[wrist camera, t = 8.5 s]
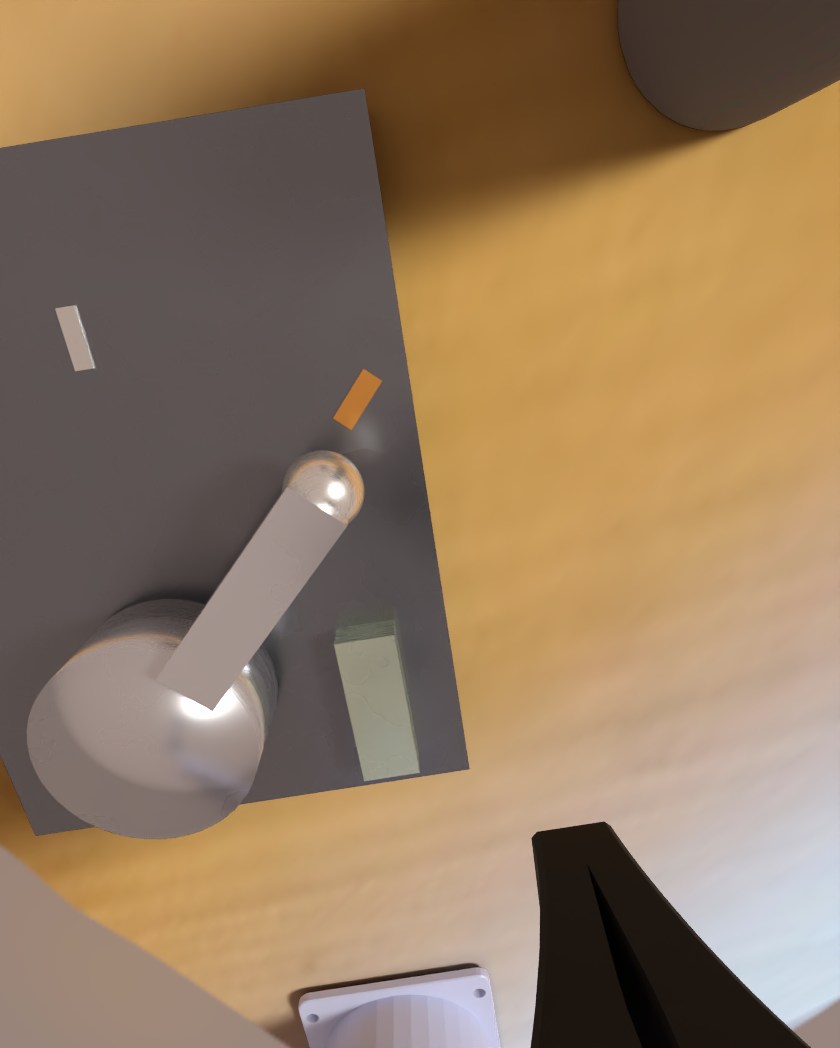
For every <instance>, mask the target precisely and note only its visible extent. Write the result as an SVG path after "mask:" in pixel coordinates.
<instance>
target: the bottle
mask: <svg viewBox="0 0 840 1048" xmlns="http://www.w3.org/2000/svg"><path fill="white" fill-rule="evenodd" d="M618 32H619V38H620V44H621V48H622V51H623V55H624V58H625V61H626V64H627V67H628V70H629V72H630V74H631V76H632V79H633V81H634V82H635V84H636V86H637V87H638V89H639V90H640V92H641V93H642V95H643V96H644V97H645V98H646V99H647V100H648V101H649V102H650V103H651V104H652V105H653V106H654V107H655V108H656V109H657V110H658V111H659V112H660V113H661V114H663V115H665V116H666V117H668V118H670V119H672V120H673V121H675V122H677V123H678V124H681V125H684V126H687V127H691V128H695V129H698V130H715V131H722V130H728V129H735V128H740V127H743V126H746V125H748V124H751V123H754V122H756V121H759V120H761V119H764V118H766V117H768V116H770V115H772V114H774V113H776V112H778V111H780V110H782V109H784V108H786V107H788V106H790V105H792V104H794V103H796V102H798V101H800V100H802V99H804V98H806V97H808V96H810V95H812V94H814V93H816V92H818V91H820V90H822V89H823V88H825V87H827V86H829V85H831V84H833V83H835V82H837V81H839V80H840V0H618Z"/></svg>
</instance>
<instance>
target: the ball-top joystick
mask: <svg viewBox="0 0 840 1048" xmlns="http://www.w3.org/2000/svg"><path fill="white" fill-rule="evenodd" d="M364 493H365V489H364V482H363V479H362V476H361V474H360V472H359V470H358V469H357V467H356V466H355V465H354V464H353V463H352V462H351V461H350V460H349V459H348V458H346V457H345V456H343V455H341V454H339V453H336V452H333V451H327V450H320V451H313V452H310V453H307V454H305V455H303V456H301V457H300V458H298V459H297V460H296V461H295V462H294V463H293V464H292V465H291V466H290V467H289V469H288V471H287V472H286V474H285V477H284V480H283V484H282V493H281V494H280V496H279V497H278V499H277V500H276V502H275V503H274V505H273V506H272V507H271V509H270V510H269V512H268V513H267V515H266V516H265V518H264V519H263V521H262V522H261V524H260V525H259V526H258V528H257V529H256V531H255V532H254V534H253V535H252V537H251V538H250V540H249V541H248V543H247V544H246V546H245V547H244V548H243V550H242V551H241V553H240V554H239V556H238V557H237V559H236V560H235V562H234V563H233V565H232V566H231V567H230V569H229V570H228V572H227V573H226V575H225V576H224V578H223V579H222V581H221V582H220V584H219V585H218V587H217V588H216V589H215V591H214V592H213V594H212V595H211V597H210V598H209V600H208V601H207V603H206V604H203V603H199V602H195V601H189V600H182V599H160V600H151V601H147V602H142V603H139V604H136V605H133V606H130V607H128V608H126V609H124V610H122V611H120V612H118V613H116V614H115V615H114V616H112V617H111V618H109V619H108V620H107V621H106V622H105V623H104V624H103V625H102V626H101V627H100V628H99V629H98V630H97V631H96V632H95V633H94V634H93V635H92V636H91V637H90V638H89V639H88V640H87V641H86V642H85V643H84V644H83V646H82V647H81V648H80V649H79V650H78V651H77V652H76V653H75V654H74V655H73V656H72V657H71V658H70V659H69V660H68V661H67V663H66V664H65V665H64V666H63V667H62V668H61V669H60V670H59V671H58V672H57V673H56V674H55V675H54V676H53V677H52V679H51V680H50V681H49V682H48V683H47V684H46V685H45V686H44V688H43V689H42V690H41V692H40V693H39V694H38V696H37V698H36V700H35V702H34V704H33V706H32V709H31V712H30V715H29V718H28V725H27V745H28V751H29V756H30V759H31V761H32V764H33V767H34V769H35V771H36V773H37V775H38V777H39V779H40V780H41V782H42V783H43V785H44V786H45V788H46V789H47V790H48V792H49V793H50V794H51V795H52V796H53V797H54V798H55V799H56V800H57V801H58V802H59V803H60V804H61V805H62V806H63V807H65V808H66V809H67V810H68V811H70V812H71V813H73V814H74V815H75V816H77V817H78V818H80V819H82V820H84V821H85V822H87V823H89V824H91V825H93V826H95V827H98V828H100V829H103V830H105V831H108V832H111V833H115V834H118V835H122V836H127V837H132V838H142V839H167V838H176V837H181V836H186V835H190V834H193V833H196V832H199V831H202V830H204V829H206V828H208V827H210V826H213V825H214V824H216V823H218V822H219V821H221V820H222V819H224V818H225V817H226V816H228V815H229V814H230V813H231V812H232V811H234V810H235V809H236V807H237V806H238V805H239V804H240V803H241V802H242V801H243V799H244V798H245V796H246V795H247V793H248V792H249V790H250V788H251V786H252V783H253V781H254V778H255V775H256V772H257V768H258V765H259V762H260V758H261V755H262V752H263V748H264V745H265V742H266V738H267V735H268V732H269V728H270V725H271V721H272V718H273V715H274V711H275V708H276V704H277V696H278V684H277V677H276V672H275V669H274V666H273V663H272V660H271V658H270V656H269V654H268V653H267V651H266V649H265V648H264V646H263V645H262V643H263V642H264V640H265V639H266V637H267V636H268V635H269V633H270V632H271V631H272V629H273V628H274V626H275V625H276V624H277V622H278V621H279V619H280V618H281V617H282V615H283V614H284V613H285V611H286V610H287V608H288V607H289V606H290V604H291V603H292V602H293V600H294V599H295V597H296V596H297V595H298V593H299V592H300V590H301V589H302V588H303V586H304V585H305V584H306V582H307V581H308V579H309V578H310V577H311V575H312V574H313V573H314V571H315V570H316V568H317V567H318V566H319V564H320V563H321V562H322V560H323V559H324V557H325V556H326V555H327V553H328V552H329V550H330V549H331V548H332V546H333V545H334V544H335V542H336V541H337V539H338V538H339V537H340V535H341V534H342V533H343V531H344V530H345V528H346V527H347V525H348V524H349V523H350V522H351V521H352V520H353V519H354V518H355V517H356V516H357V514H358V513H359V511H360V509H361V507H362V504H363V501H364Z"/></svg>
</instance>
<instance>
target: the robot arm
mask: <svg viewBox="0 0 840 1048" xmlns="http://www.w3.org/2000/svg"><path fill="white" fill-rule="evenodd" d="M532 846H533V854H534V862H535V871H536V879H537V887H538V895H539V904H540V951H539V967H538V980H537V993H536V1006H535V1015H534V1024H533V1033H532V1041H531V1048H811V1047H810V1046H808V1045H807V1044H806V1043H805V1042H804V1041H803V1040H802V1039H801V1038H800V1037H798V1036H797V1035H796V1034H795V1033H794V1032H793V1031H792V1030H791V1029H790V1028H789V1027H788V1026H787V1025H786V1024H785V1023H784V1022H783V1021H781V1020H780V1019H779V1018H778V1017H777V1016H776V1015H775V1014H774V1013H773V1012H772V1011H771V1010H770V1009H769V1008H768V1007H767V1006H766V1005H765V1004H764V1003H763V1002H762V1001H761V1000H760V999H759V998H757V997H756V996H755V995H754V994H753V993H752V992H751V991H750V990H749V989H748V988H747V987H746V986H745V985H744V984H743V983H742V982H741V981H740V979H739V978H738V977H737V976H736V975H735V974H734V973H733V972H732V971H731V970H730V969H729V968H728V967H727V966H726V965H725V964H724V963H723V962H722V961H721V960H720V959H719V958H718V957H717V955H716V954H715V953H714V952H713V951H712V950H711V949H710V948H709V947H708V946H707V945H706V944H705V943H704V941H703V940H702V939H701V938H700V937H699V936H698V935H697V934H696V933H695V931H694V930H693V929H692V928H691V927H690V926H689V925H688V923H687V922H686V921H685V920H684V919H683V918H682V917H681V915H680V914H679V913H678V912H677V911H676V910H675V909H674V907H673V906H672V905H671V904H670V903H669V902H668V900H667V899H666V898H665V897H664V896H663V894H662V893H661V892H660V891H659V890H658V888H657V887H656V886H655V885H654V883H653V882H652V881H651V880H650V878H649V877H648V876H647V875H646V873H645V872H644V871H643V870H642V868H641V867H640V866H639V865H638V863H637V862H636V861H635V859H634V858H633V857H632V855H631V854H630V853H629V851H628V850H627V849H626V847H625V846H624V845H623V843H622V842H621V840H620V839H619V838H618V836H617V835H616V833H615V832H614V830H613V829H612V827H611V826H610V825H608V824H607V823H606V822H599V823H592V824H586V825H579V826H573V827H566V828H560V829H553V830H546V831H540V832H537V833H536V834H535V835H534V836H533V837H532ZM298 1011H299V1014H300V1018H301V1021H302V1024H303V1027H304V1031H305V1034H306V1037H307V1040H308V1044H309V1047H310V1048H501V1047H500V1041H499V1035H498V1029H497V1023H496V1016H495V1010H494V1004H493V998H492V992H491V986H490V980H489V974H488V972H487V971H486V970H485V969H483V968H480V967H475V968H469V969H462V970H455V971H449V972H442V973H435V974H429V975H422V976H416V977H409V978H402V979H396V980H389V981H383V982H376V983H369V984H363V985H356V986H349V987H343V988H336V989H330V990H323V991H316V992H310V993H306V994H304V995H303V996H301V998H300V1000H299V1006H298Z"/></svg>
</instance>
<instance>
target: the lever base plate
mask: <svg viewBox="0 0 840 1048" xmlns="http://www.w3.org/2000/svg"><path fill="white" fill-rule="evenodd" d="M320 450H327V451H333V452H336V453H339V454H341V455H343V456H345V457H346V458H348V459H349V460H350V461H351V462H352V463H353V464H354V465H355V466H356V467H357V469H358V470H359V472H360V474H361V476H362V479H363V482H364V489H365V493H364V501H363V504H362V507H361V509H360V511H359V513H358V514H357V516H356V517H355V518H354V519H353V520H352V521H351V522H350V523H349V524H348V525H347V527H346V528H345V530H344V531H343V533H342V534H341V535H340V537H339V538H338V539H337V541H336V542H335V544H334V545H333V546H332V548H331V549H330V550H329V552H328V553H327V555H326V556H325V557H324V559H323V560H322V562H321V563H320V564H319V566H318V567H317V568H316V570H315V571H314V573H313V574H312V575H311V577H310V578H309V579H308V581H307V582H306V584H305V585H304V586H303V588H302V589H301V590H300V592H299V593H298V595H297V596H296V597H295V599H294V600H293V602H292V603H291V604H290V606H289V607H288V608H287V610H286V611H285V613H284V614H283V615H282V617H281V618H280V619H279V621H278V622H277V624H276V625H275V626H274V628H273V629H272V631H271V632H270V633H269V635H268V636H267V637H266V639H265V640H264V642H263V643H262V645H263V646H264V648H265V649H266V651H267V653H268V654H269V656H270V658H271V660H272V663H273V666H274V669H275V672H276V677H277V684H278V696H277V704H276V708H275V711H274V715H273V718H272V721H271V725H270V728H269V732H268V735H267V738H266V742H265V745H264V748H263V752H262V755H261V758H260V762H259V765H258V768H257V772H256V775H255V778H254V781H253V783H252V786H251V788H250V790H249V792H248V793H247V795H246V796H245V798H244V799H243V801H242V802H241V803H240V804H246V803H252V802H259V801H265V800H272V799H278V798H285V797H291V796H298V795H304V794H311V793H317V792H324V791H330V790H337V789H343V788H350V787H356V786H363V785H369V784H376V783H383V782H389V781H396V780H402V779H409V778H415V777H422V776H428V775H435V774H441V773H448V772H454V771H461V770H467V769H469V763H468V756H467V750H466V743H465V737H464V730H463V724H462V717H461V711H460V704H459V698H458V691H457V685H456V678H455V672H454V665H453V659H452V652H451V646H450V639H449V633H448V626H447V620H446V613H445V607H444V600H443V594H442V587H441V581H440V574H439V568H438V561H437V555H436V549H435V542H434V536H433V529H432V523H431V516H430V510H429V503H428V497H427V490H426V484H425V477H424V471H423V464H422V458H421V451H420V445H419V438H418V432H417V425H416V419H415V412H414V406H413V399H412V393H411V386H410V380H409V373H408V367H407V360H406V354H405V347H404V341H403V334H402V328H401V321H400V315H399V308H398V302H397V295H396V289H395V282H394V276H393V269H392V263H391V256H390V250H389V243H388V237H387V230H386V224H385V217H384V211H383V204H382V198H381V191H380V185H379V178H378V172H377V165H376V159H375V152H374V146H373V139H372V133H371V126H370V120H369V114H368V107H367V101H366V94H365V88H364V89H358V90H352V91H346V92H340V93H333V94H327V95H321V96H315V97H309V98H303V99H297V100H291V101H285V102H278V103H272V104H266V105H260V106H254V107H248V108H242V109H236V110H229V111H223V112H217V113H211V114H205V115H199V116H193V117H187V118H181V119H174V120H168V121H162V122H156V123H150V124H144V125H138V126H132V127H126V128H119V129H113V130H107V131H101V132H95V133H89V134H83V135H77V136H71V137H64V138H58V139H52V140H46V141H40V142H34V143H28V144H22V145H16V146H9V147H3V148H0V756H1V758H2V761H3V763H4V765H5V767H6V770H7V772H8V774H9V776H10V779H11V781H12V783H13V785H14V788H15V790H16V792H17V795H18V797H19V799H20V801H21V804H22V806H23V808H24V810H25V813H26V815H27V817H28V819H29V822H30V824H31V826H32V828H33V831H34V833H35V835H36V836H38V835H44V834H51V833H57V832H64V831H70V830H77V829H83V828H90V827H95V826H93V825H91V824H89V823H87V822H85V821H84V820H82V819H80V818H78V817H77V816H75V815H74V814H73V813H71V812H70V811H68V810H67V809H66V808H65V807H63V806H62V805H61V804H60V803H59V802H58V801H57V800H56V799H55V798H54V797H53V796H52V795H51V794H50V793H49V792H48V790H47V789H46V788H45V786H44V785H43V783H42V782H41V780H40V779H39V777H38V775H37V773H36V771H35V769H34V767H33V764H32V761H31V759H30V756H29V751H28V745H27V725H28V718H29V715H30V712H31V709H32V706H33V704H34V702H35V700H36V698H37V696H38V694H39V693H40V692H41V690H42V689H43V688H44V686H45V685H46V684H47V683H48V682H49V681H50V680H51V679H52V677H53V676H54V675H55V674H56V673H57V672H58V671H59V670H60V669H61V668H62V667H63V666H64V665H65V664H66V663H67V661H68V660H69V659H70V658H71V657H72V656H73V655H74V654H75V653H76V652H77V651H78V650H79V649H80V648H81V647H82V646H83V644H84V643H85V642H86V641H87V640H88V639H89V638H90V637H91V636H92V635H93V634H94V633H95V632H96V631H97V630H98V629H99V628H100V627H101V626H102V625H103V624H104V623H105V622H106V621H107V620H108V619H109V618H111V617H112V616H114V615H115V614H116V613H118V612H120V611H122V610H124V609H126V608H128V607H130V606H133V605H136V604H139V603H142V602H147V601H151V600H160V599H182V600H189V601H195V602H199V603H203V604H206V603H207V601H208V600H209V598H210V597H211V595H212V594H213V592H214V591H215V589H216V588H217V587H218V585H219V584H220V582H221V581H222V579H223V578H224V576H225V575H226V573H227V572H228V570H229V569H230V567H231V566H232V565H233V563H234V562H235V560H236V559H237V557H238V556H239V554H240V553H241V551H242V550H243V548H244V547H245V546H246V544H247V543H248V541H249V540H250V538H251V537H252V535H253V534H254V532H255V531H256V529H257V528H258V526H259V525H260V524H261V522H262V521H263V519H264V518H265V516H266V515H267V513H268V512H269V510H270V509H271V507H272V506H273V505H274V503H275V502H276V500H277V499H278V497H279V496H280V494H281V493H282V484H283V480H284V477H285V474H286V472H287V471H288V469H289V467H290V466H291V465H292V464H293V463H294V462H295V461H296V460H297V459H298V458H300V457H301V456H303V455H305V454H307V453H310V452H313V451H320Z"/></svg>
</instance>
